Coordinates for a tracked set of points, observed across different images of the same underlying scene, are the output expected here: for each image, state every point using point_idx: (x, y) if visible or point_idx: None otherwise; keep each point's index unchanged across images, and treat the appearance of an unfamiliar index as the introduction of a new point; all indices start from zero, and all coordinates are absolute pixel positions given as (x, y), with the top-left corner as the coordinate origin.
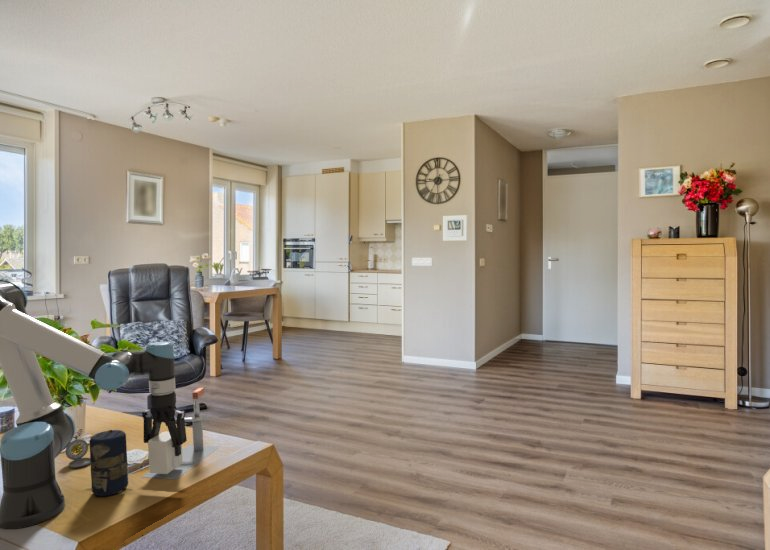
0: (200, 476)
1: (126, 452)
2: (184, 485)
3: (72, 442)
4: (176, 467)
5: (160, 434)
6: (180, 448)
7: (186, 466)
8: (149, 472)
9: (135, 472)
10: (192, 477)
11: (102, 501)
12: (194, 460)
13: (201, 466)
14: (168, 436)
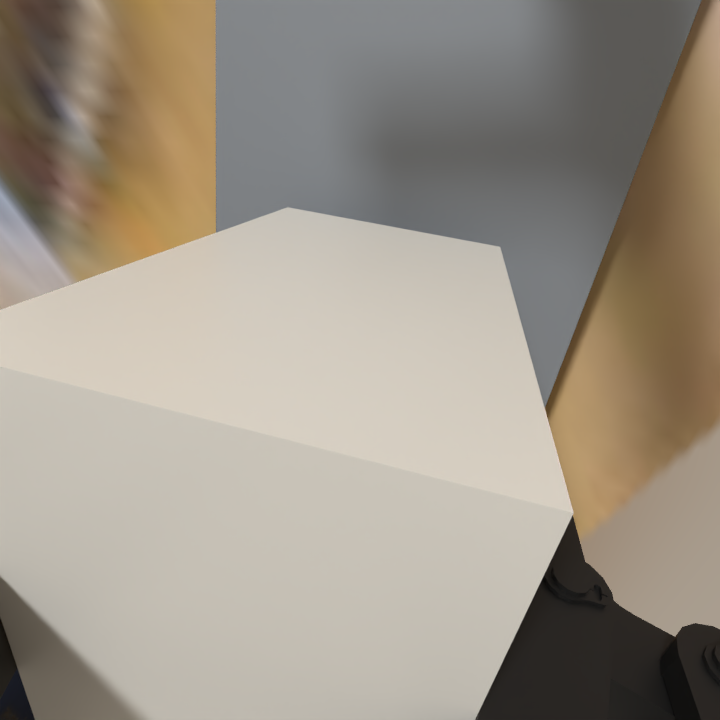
0: (712, 356)
1: (9, 714)
2: (593, 490)
3: None
4: (425, 231)
5: (14, 555)
6: (571, 535)
7: (531, 212)
8: None
9: (88, 231)
10: (631, 368)
11: None
12: (589, 11)
13: (687, 100)
14: (304, 717)
